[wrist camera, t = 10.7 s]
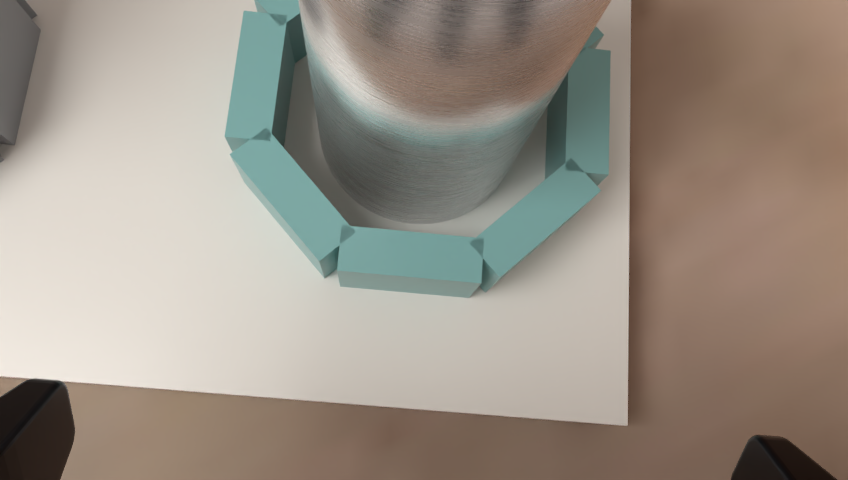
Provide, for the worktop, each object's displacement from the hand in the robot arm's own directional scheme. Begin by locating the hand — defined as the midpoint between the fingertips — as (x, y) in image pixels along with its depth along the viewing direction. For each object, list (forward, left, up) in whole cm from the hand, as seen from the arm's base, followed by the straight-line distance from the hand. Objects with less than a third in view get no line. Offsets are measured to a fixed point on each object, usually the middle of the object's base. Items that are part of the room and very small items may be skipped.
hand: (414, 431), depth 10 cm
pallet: (+8, +6, -9) cm, 13 cm away
